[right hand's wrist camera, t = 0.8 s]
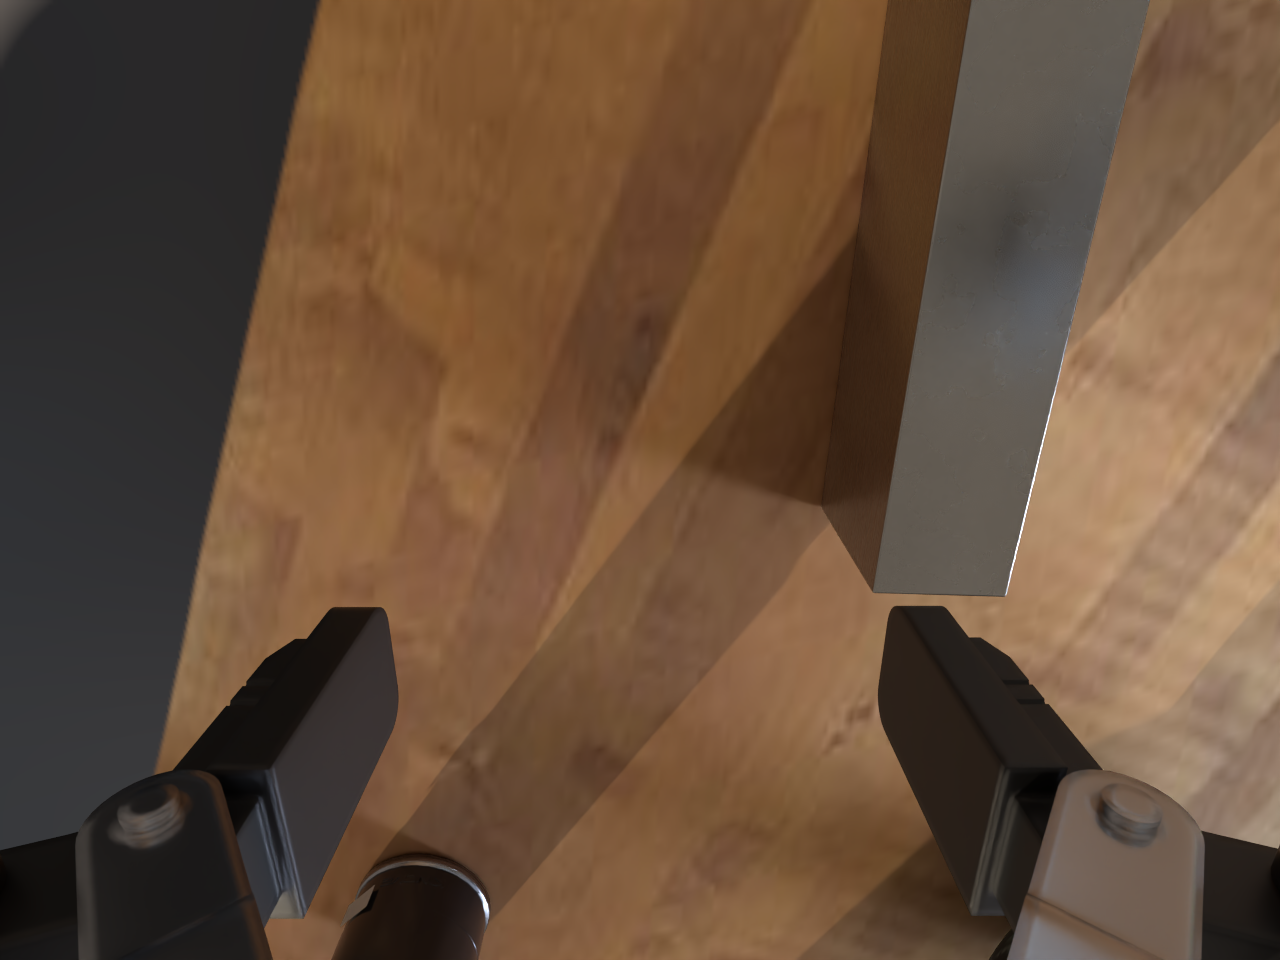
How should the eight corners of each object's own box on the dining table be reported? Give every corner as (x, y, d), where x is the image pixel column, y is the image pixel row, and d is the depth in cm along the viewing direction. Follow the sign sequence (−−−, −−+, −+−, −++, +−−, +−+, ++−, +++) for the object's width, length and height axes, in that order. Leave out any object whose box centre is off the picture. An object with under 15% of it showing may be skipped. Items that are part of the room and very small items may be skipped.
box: (925, 511, 41) (1006, 597, 32) (820, 508, 41) (872, 593, 32) (1025, -27, 32) (1180, -121, 23) (891, -32, 32) (992, -128, 23)
